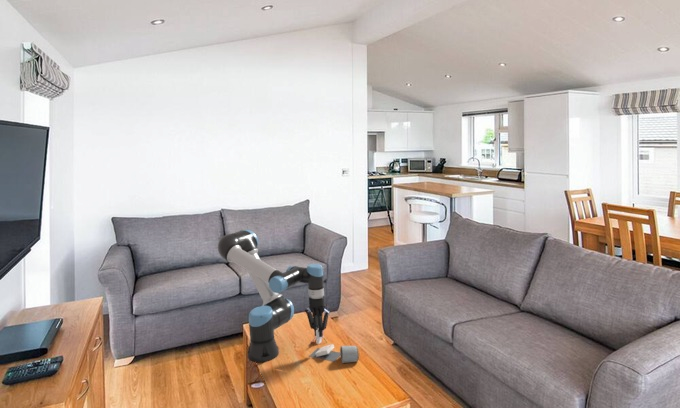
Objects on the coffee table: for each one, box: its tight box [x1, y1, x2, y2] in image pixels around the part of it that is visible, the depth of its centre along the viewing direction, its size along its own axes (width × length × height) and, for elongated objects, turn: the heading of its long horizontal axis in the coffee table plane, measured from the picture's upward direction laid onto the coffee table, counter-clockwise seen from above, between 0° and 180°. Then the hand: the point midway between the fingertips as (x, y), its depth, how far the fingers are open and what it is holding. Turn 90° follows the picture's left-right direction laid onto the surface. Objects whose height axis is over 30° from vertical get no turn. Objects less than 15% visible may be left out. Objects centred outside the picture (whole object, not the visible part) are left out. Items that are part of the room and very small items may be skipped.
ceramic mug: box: [339, 345, 360, 364], centre depth 202 cm, size 11×8×8 cm
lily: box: [310, 329, 328, 344], centre depth 220 cm, size 12×12×10 cm
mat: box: [308, 347, 341, 363], centre depth 207 cm, size 14×9×1 cm, turn 64°
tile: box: [315, 343, 335, 357], centre depth 207 cm, size 2×7×7 cm
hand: (319, 342), depth 208 cm, fingers closed
